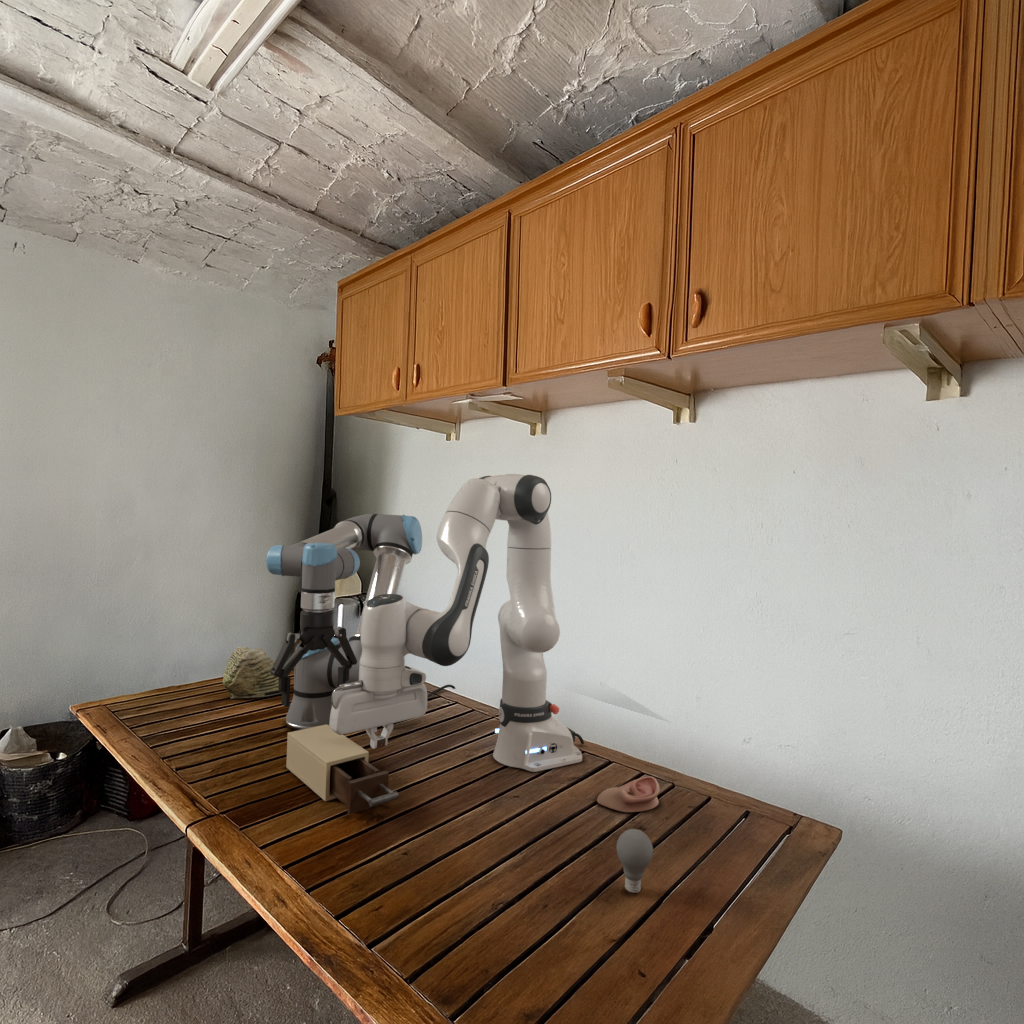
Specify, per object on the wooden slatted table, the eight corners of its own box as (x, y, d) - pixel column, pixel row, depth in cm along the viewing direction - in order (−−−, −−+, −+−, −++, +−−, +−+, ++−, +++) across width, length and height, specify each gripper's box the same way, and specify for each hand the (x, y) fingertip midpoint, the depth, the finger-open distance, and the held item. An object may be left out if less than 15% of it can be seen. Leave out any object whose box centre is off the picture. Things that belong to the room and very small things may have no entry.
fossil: (218, 695, 195) (220, 647, 195) (278, 685, 208) (279, 640, 207) (228, 703, 189) (230, 653, 188) (289, 692, 201) (290, 645, 201)
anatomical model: (596, 789, 133) (599, 767, 145) (595, 808, 134) (599, 785, 145) (660, 798, 131) (659, 775, 142) (659, 817, 131) (658, 792, 142)
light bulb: (610, 879, 108) (613, 822, 108) (644, 879, 109) (647, 822, 109) (619, 902, 102) (622, 840, 102) (655, 901, 103) (658, 840, 103)
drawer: (403, 814, 126) (404, 783, 126) (364, 827, 120) (366, 794, 120) (344, 769, 145) (345, 742, 145) (308, 779, 139) (309, 751, 139)
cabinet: (367, 788, 138) (368, 751, 138) (325, 801, 132) (326, 762, 132) (325, 757, 154) (326, 724, 153) (286, 767, 147) (287, 732, 147)
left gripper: (270, 616, 136) (266, 714, 137) (373, 607, 153) (369, 694, 153) (257, 611, 142) (254, 705, 142) (358, 603, 159) (355, 687, 159)
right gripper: (340, 689, 116) (337, 764, 116) (432, 673, 130) (430, 740, 130) (325, 681, 121) (322, 753, 121) (415, 666, 134) (413, 731, 135)
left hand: (314, 700), depth 148 cm, fingers open, 13 cm apart
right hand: (378, 746), depth 126 cm, fingers closed
